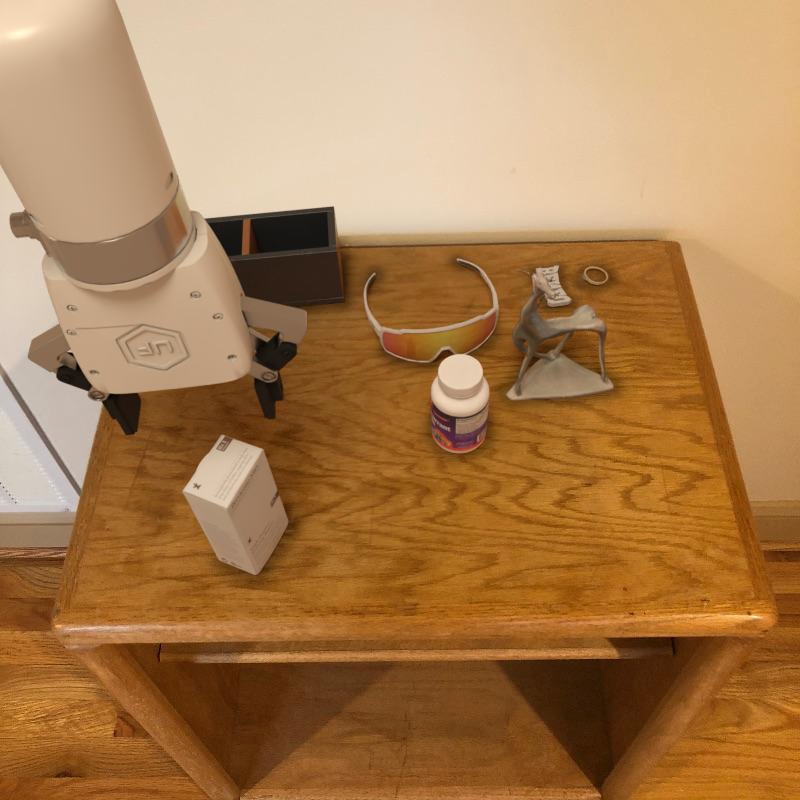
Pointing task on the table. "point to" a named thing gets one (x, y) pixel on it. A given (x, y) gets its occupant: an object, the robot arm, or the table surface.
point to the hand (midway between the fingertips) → (202, 410)
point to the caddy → (284, 255)
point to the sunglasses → (437, 332)
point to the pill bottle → (459, 404)
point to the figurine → (555, 351)
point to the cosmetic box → (237, 504)
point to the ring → (594, 281)
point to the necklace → (553, 286)
